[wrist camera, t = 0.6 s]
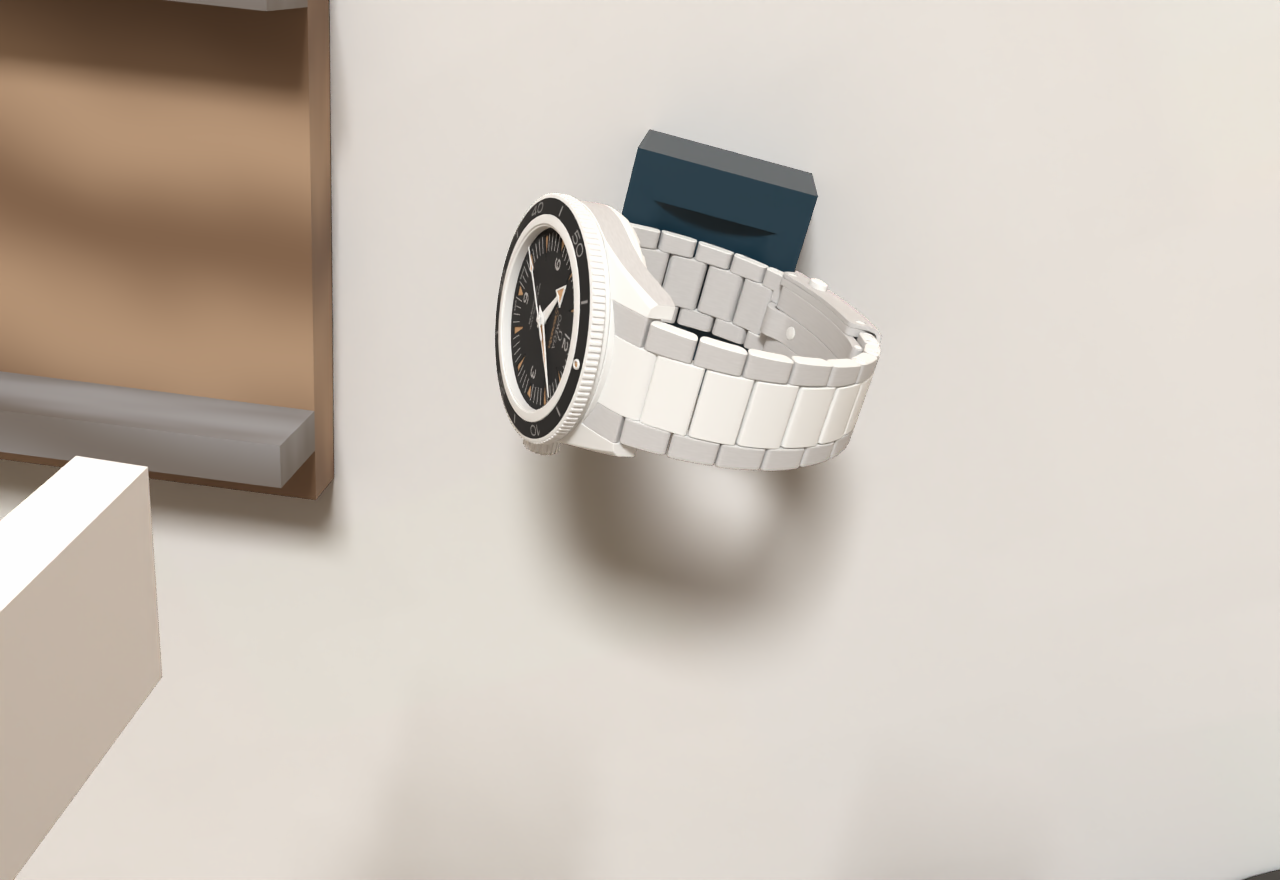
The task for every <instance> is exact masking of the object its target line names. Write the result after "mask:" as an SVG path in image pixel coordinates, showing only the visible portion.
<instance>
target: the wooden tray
mask: <svg viewBox="0 0 1280 880" xmlns="http://www.w3.org/2000/svg"><path fill="white" fill-rule="evenodd" d="M75 456H81V457H88V458H94V459H100V460H107V461H113V462H120V463H126V464H133V465H139V466H146V467H148V476H149V478H151V479H158V480H166V481H174V482H181V483H189V484H197V485H205V486H212V487H220V488H228V489H235V490H243V491H251V492H258V493H266V494H274V495H281V496H289V497H297V498H304V499H312V500H316V499H317V498H318V497H319V496H320V494H321V493H322V492H323V491H324V489H325V488H326V487H327V486H328V485H329V483H330V482H331V481H332V480H333V478H334V458H333V358H332V258H331V159H330V59H329V0H0V459H5V460H12V461H20V462H28V463H35V464H43V465H51V466H58V467H63V466H65V465H66V464H67V463H68V462H69V461H70V460H72V459H73V458H74V457H75Z"/></svg>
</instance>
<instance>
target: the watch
mask: <svg viewBox="0 0 1280 880" xmlns="http://www.w3.org/2000/svg"><path fill="white" fill-rule="evenodd" d="M817 197H818V195H817V191H816V188H815V184H814V180H813V176H812V173H808V172H804V171H801V170H797V169H793V168H790V167H786V166H782V165H779V164H775V163H771V162H768V161H764V160H760V159H757V158H753V157H749V156H746V155H742V154H738V153H734V152H731V151H727V150H723V149H720V148H716V147H712V146H709V145H705V144H701V143H698V142H694V141H690V140H687V139H683V138H679V137H676V136H672V135H668V134H665V133H661V132H657V131H654V130H649V131H648V133H647V134H646V136H645V138H644V139H643V141H642V142H641V144H640V145H639V147H638V150H637V154H636V158H635V162H634V166H633V170H632V174H631V179H630V183H629V187H628V191H627V195H626V199H625V203H624V207H623V211H622V214H621V213H619V212H618V211H616V210H615V209H614V208H612V207H611V206H608V205H605V204H600V203H595V202H588V201H581V200H577V199H576V198H574V197H573V196H570V195H566V194H560V193H549V194H546V195H544V196H542V197H541V198H539V199H537V200H536V202H534V203H533V204H532V205H531V207H530V208H529V209H528V210H527V212H526V213H525V215H524V217H523V218H522V220H521V221H520V224H519V225H518V228H517V229H516V232H515V234H514V237H513V239H512V242H511V245H510V248H509V251H508V254H507V257H506V261H505V264H504V268H503V273H502V277H501V283H500V288H499V295H498V302H497V312H496V329H495V349H496V365H497V373H498V381H499V386H500V391H501V396H502V400H503V404H504V406H505V409H506V413H507V415H508V417H509V420H510V421H511V424H512V425H513V427H514V428H515V430H516V431H517V433H519V435H520V436H521V437H522V438H523V439H524V440H523V444H524V447H526V449H528V450H530V451H531V452H535V453H538V454H541V455H553V454H556V453H557V452H559V448H560V444H561V443H562V444H567V445H571V446H575V447H579V448H583V449H586V450H590V451H594V452H598V453H603V454H607V455H612V456H616V457H634V456H635V453H636V449H640V450H644V451H648V452H652V453H655V454H660V455H664V454H666V450H667V447H668V443H669V440H670V436H671V433H673V435H672V439H671V442H670V446H669V449H668V453H667V456H668V457H669V458H673V459H677V460H682V461H687V462H692V463H697V464H704V465H714V463H715V466H716V467H719V468H728V469H740V470H759V469H761V470H763V471H780V470H790V469H797V468H798V467H799V466H801V467H806V466H811V465H815V464H818V463H821V462H824V461H827V460H828V459H829V458H833V457H835V456H837V455H838V454H840V453H841V452H842V451H843V450H844V449H845V448H846V446H847V445H848V443H849V441H850V438H851V435H852V432H853V430H854V427H855V424H856V422H857V419H858V416H859V413H860V410H861V407H862V405H863V402H864V399H865V396H866V393H867V391H868V388H869V385H870V382H871V379H872V377H873V373H874V370H875V368H876V365H877V362H878V359H879V356H880V353H881V350H880V342H881V337H882V335H881V334H880V332H879V330H878V329H877V328H876V327H875V326H874V325H873V324H872V323H871V322H870V321H869V320H868V319H867V318H866V317H864V316H863V315H862V314H861V313H860V312H859V311H857V310H856V309H855V308H854V307H852V306H851V305H850V304H849V303H847V302H846V301H845V300H843V299H842V298H840V297H839V296H838V295H836V294H835V293H833V292H832V291H830V290H829V289H827V287H828V285H827V284H826V283H824V282H823V281H821V280H819V279H816V278H809V277H807V276H806V275H804V274H802V273H800V272H799V271H795V268H796V264H797V261H798V258H799V255H800V252H801V248H802V245H803V242H804V239H805V236H806V232H807V229H808V226H809V223H810V220H811V216H812V213H813V210H814V207H815V204H816V200H817ZM794 271H795V272H794ZM698 395H699V397H698ZM697 397H698V400H697ZM696 400H697V404H696ZM695 404H696V407H695ZM694 407H695V410H694ZM693 411H694V414H693ZM692 414H693V417H692ZM691 417H692V421H691ZM690 421H691V424H690ZM689 424H690V428H689ZM688 428H689V431H688Z"/></svg>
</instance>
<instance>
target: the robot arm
mask: <svg viewBox="0 0 1280 880" xmlns="http://www.w3.org/2000/svg"><path fill="white" fill-rule="evenodd" d="M161 678H162V666H161V652H160V637H159V622H158V608H157V593H156V578H155V564H154V549H153V534H152V520H151V505H150V490H149V476H148V467H146V466H139V465H133V464H126V463H120V462H113V461H107V460H100V459H94V458H88V457H81V456H75V457H74V458H73V459H72V460H70V461H69V462H68V463H67V464H66V465H65V466H63V467H62V468H61V469H60V470H59V471H58V472H57V473H55V474H54V475H53V476H52V477H51V478H50V479H48V480H47V481H46V482H45V483H44V484H43V485H41V486H40V487H39V488H38V489H37V490H36V491H34V492H33V493H32V494H31V495H30V496H29V497H27V498H26V499H25V500H24V501H23V502H22V503H20V504H19V505H18V506H17V507H16V508H15V509H13V510H12V511H11V512H10V513H9V514H8V515H6V516H5V517H4V518H3V519H2V520H1V521H0V880H14V879H15V877H16V876H17V875H18V873H19V872H20V871H21V869H22V868H23V867H24V865H25V864H26V862H27V861H28V860H29V858H30V857H31V856H32V854H33V853H34V851H35V850H36V849H37V847H38V846H39V845H40V843H41V842H42V841H43V839H44V838H45V836H46V835H47V834H48V832H49V831H50V830H51V828H52V827H53V825H54V824H55V823H56V821H57V820H58V819H59V817H60V816H61V815H62V813H63V812H64V810H65V809H66V808H67V806H68V805H69V804H70V802H71V801H72V800H73V798H74V797H75V795H76V794H77V793H78V791H79V790H80V789H81V787H82V786H83V784H84V783H85V782H86V780H87V779H88V778H89V776H90V775H91V774H92V772H93V771H94V769H95V768H96V767H97V765H98V764H99V763H100V761H101V760H102V758H103V757H104V756H105V754H106V753H107V752H108V750H109V749H110V748H111V746H112V745H113V743H114V742H115V741H116V739H117V738H118V737H119V735H120V734H121V732H122V731H123V730H124V728H125V727H126V726H127V724H128V723H129V722H130V720H131V719H132V717H133V716H134V715H135V713H136V712H137V711H138V709H139V708H140V706H141V705H142V704H143V702H144V701H145V700H146V698H147V697H148V696H149V694H150V693H151V691H152V690H153V689H154V687H155V686H156V685H157V683H158V682H159V680H160V679H161ZM1246 880H1280V870H1278V871H1274V872H1270V873H1266V874H1263V875H1259V876H1255V877H1252V878H1249V879H1246Z"/></svg>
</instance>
